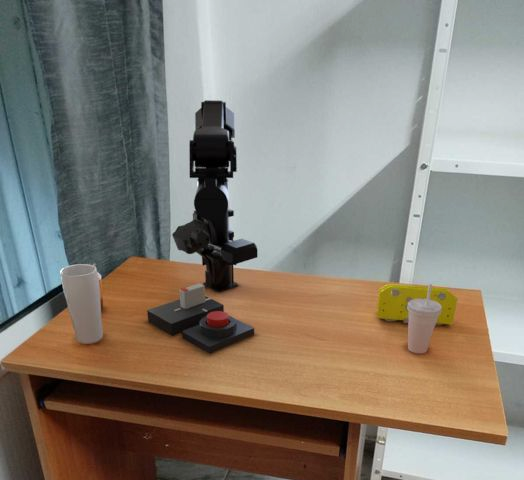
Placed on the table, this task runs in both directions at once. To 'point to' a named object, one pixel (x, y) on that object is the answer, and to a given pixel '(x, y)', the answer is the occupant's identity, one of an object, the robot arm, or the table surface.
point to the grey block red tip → (192, 296)
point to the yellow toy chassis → (398, 296)
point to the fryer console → (181, 315)
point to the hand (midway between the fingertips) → (216, 283)
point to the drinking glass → (83, 301)
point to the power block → (217, 335)
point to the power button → (217, 319)
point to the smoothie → (421, 322)
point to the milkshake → (100, 289)
